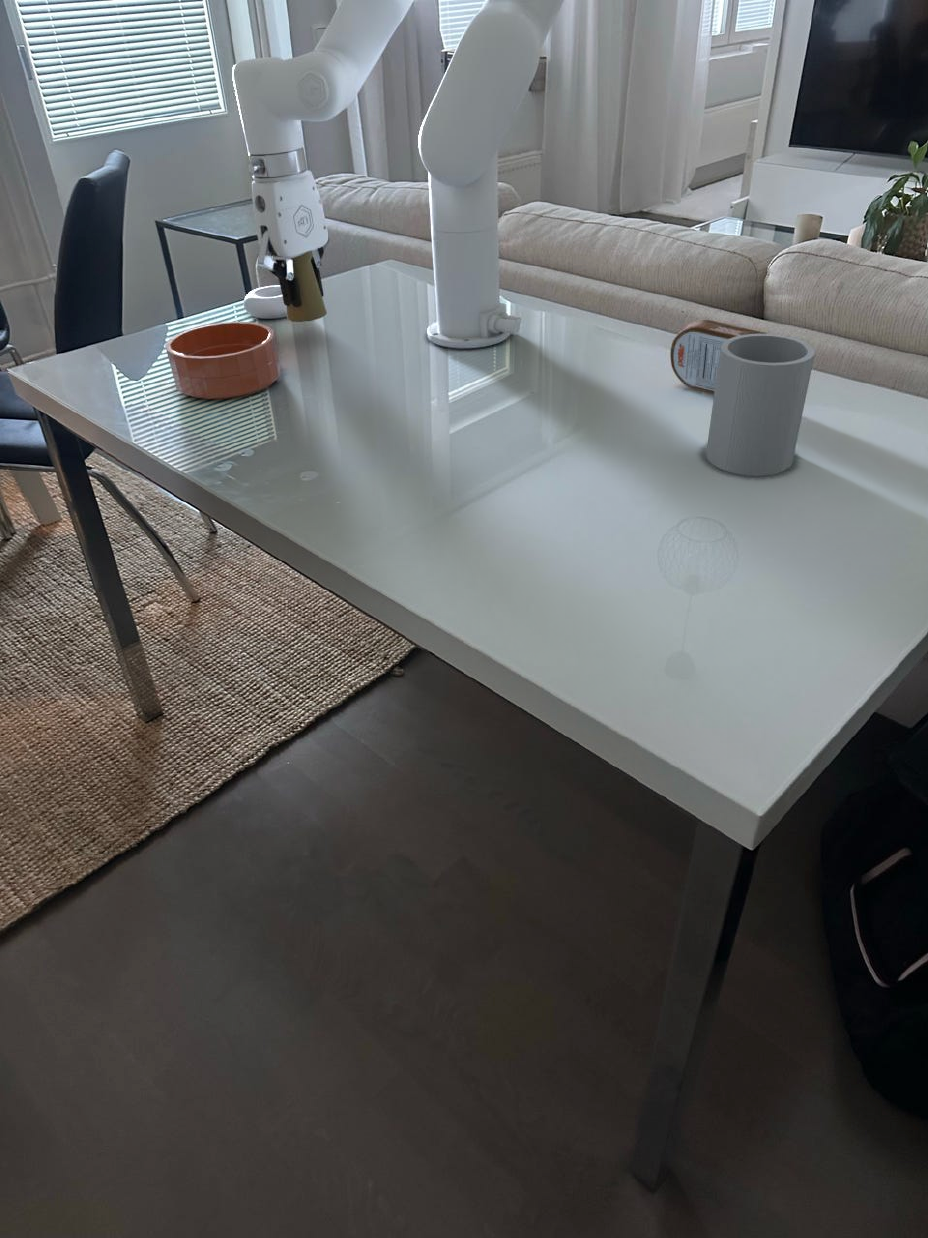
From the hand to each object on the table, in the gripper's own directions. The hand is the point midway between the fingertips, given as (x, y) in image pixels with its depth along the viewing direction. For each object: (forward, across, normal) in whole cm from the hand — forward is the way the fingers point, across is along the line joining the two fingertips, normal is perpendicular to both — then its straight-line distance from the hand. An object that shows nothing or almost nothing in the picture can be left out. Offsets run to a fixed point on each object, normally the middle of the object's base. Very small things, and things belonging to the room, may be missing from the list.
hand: (304, 299), depth 128 cm
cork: (+2, 0, 0) cm, 2 cm away
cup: (+8, -7, -71) cm, 72 cm away
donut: (+6, +7, +15) cm, 18 cm away
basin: (+6, -19, -2) cm, 20 cm away
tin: (+8, +8, -62) cm, 63 cm away
